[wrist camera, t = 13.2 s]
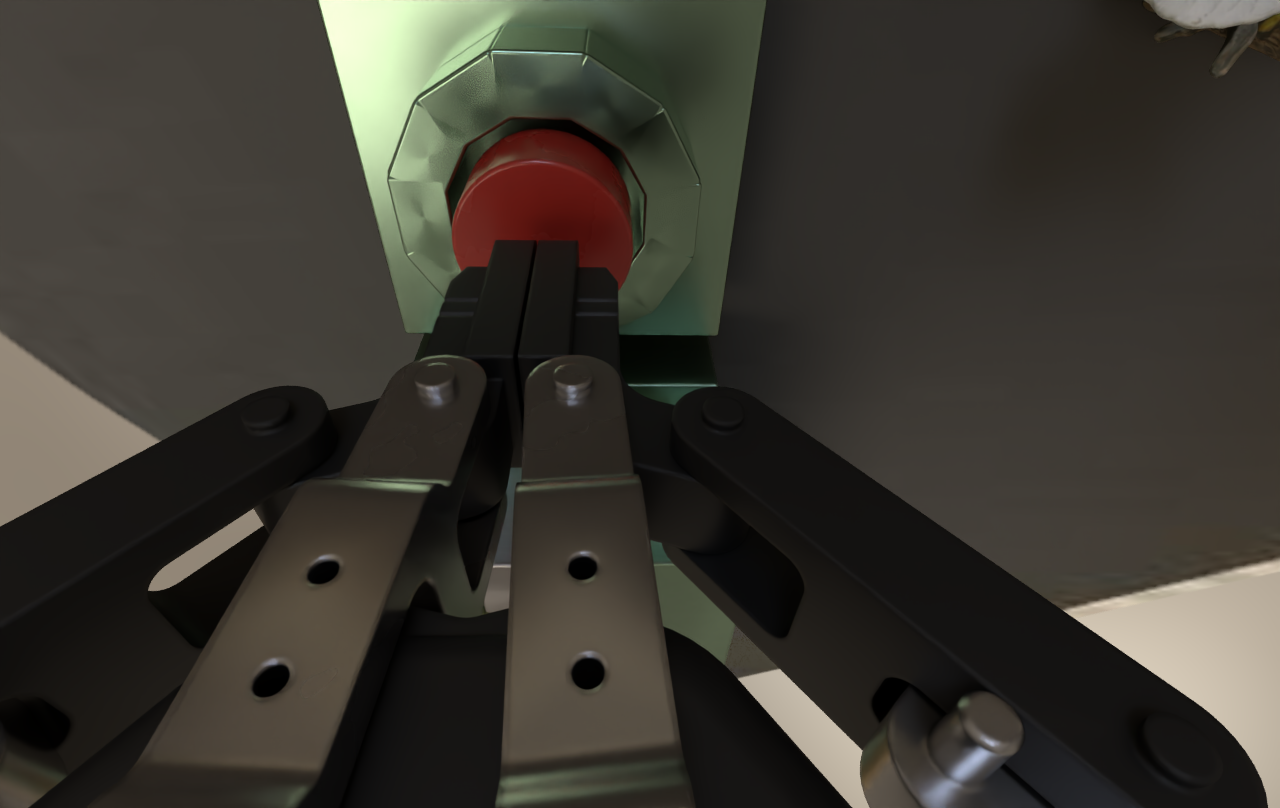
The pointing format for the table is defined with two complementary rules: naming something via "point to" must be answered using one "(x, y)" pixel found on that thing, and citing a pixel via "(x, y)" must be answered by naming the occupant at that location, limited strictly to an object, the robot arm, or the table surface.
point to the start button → (545, 201)
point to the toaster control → (555, 128)
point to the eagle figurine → (1223, 25)
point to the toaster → (666, 377)
